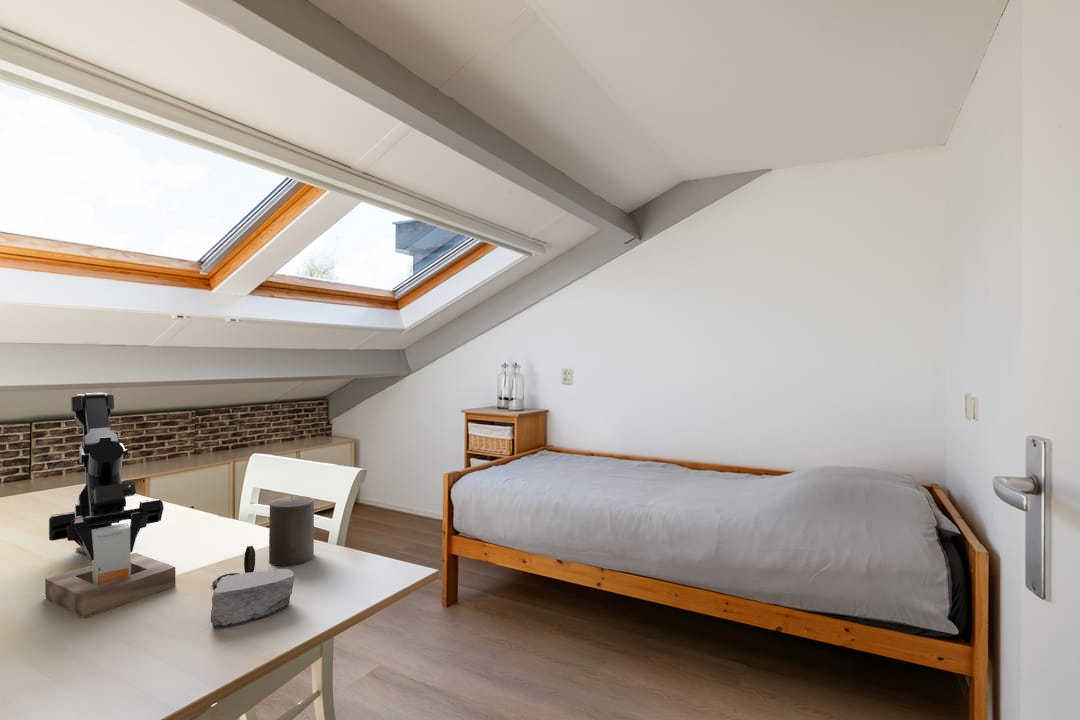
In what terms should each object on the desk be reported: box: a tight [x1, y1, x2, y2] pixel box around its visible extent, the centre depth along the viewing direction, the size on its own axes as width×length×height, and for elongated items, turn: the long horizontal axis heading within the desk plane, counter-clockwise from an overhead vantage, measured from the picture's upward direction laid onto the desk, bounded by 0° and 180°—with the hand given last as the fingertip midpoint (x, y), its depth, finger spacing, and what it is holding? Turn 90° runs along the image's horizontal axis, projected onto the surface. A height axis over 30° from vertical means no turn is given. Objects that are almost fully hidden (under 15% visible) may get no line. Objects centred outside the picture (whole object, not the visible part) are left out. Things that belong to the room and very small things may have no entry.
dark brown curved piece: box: [211, 545, 256, 590], centre depth 118 cm, size 8×8×7 cm
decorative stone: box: [210, 568, 295, 629], centre depth 106 cm, size 15×7×10 cm
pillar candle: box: [268, 495, 315, 567], centre depth 133 cm, size 10×10×15 cm
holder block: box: [44, 552, 176, 619], centre depth 114 cm, size 16×16×4 cm
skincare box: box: [91, 522, 131, 586], centre depth 114 cm, size 6×4×12 cm
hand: (112, 555), depth 113 cm, fingers closed on skincare box, 6 cm apart
